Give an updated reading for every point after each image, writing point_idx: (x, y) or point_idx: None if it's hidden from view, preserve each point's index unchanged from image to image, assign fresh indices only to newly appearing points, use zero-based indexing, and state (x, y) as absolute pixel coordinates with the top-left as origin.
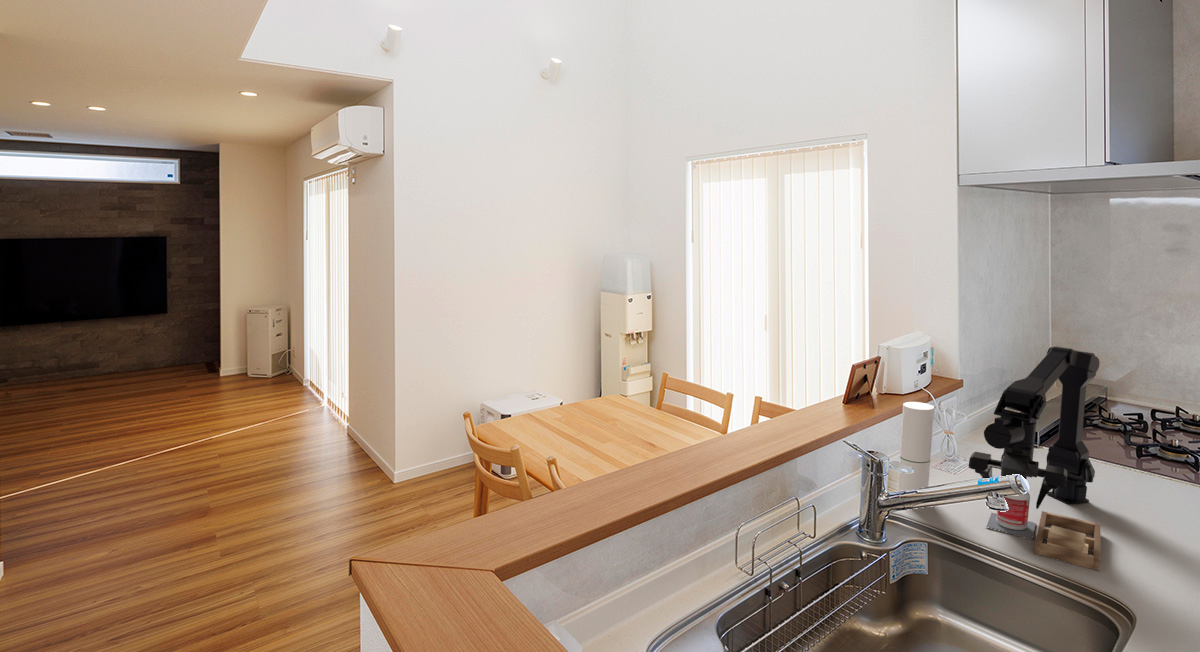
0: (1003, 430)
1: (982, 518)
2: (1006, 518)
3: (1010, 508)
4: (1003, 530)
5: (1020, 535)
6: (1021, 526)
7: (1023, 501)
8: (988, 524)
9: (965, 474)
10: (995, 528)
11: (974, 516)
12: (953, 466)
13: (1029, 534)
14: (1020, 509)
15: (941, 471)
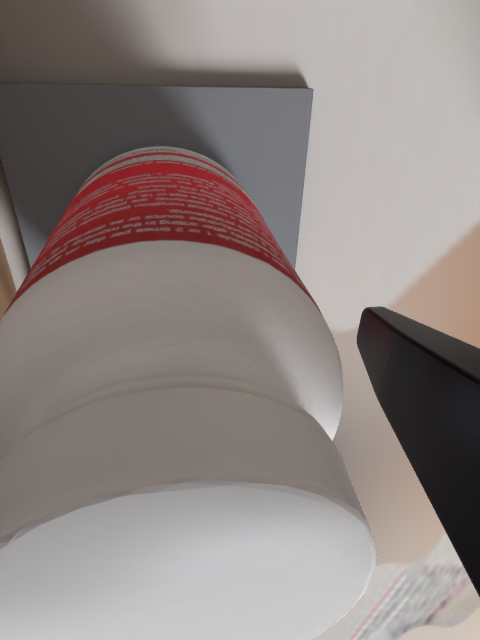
0: None
1: (330, 247)
2: (194, 166)
3: (172, 192)
4: (196, 98)
5: (71, 85)
6: (83, 183)
7: (22, 286)
8: (299, 144)
9: (377, 585)
10: (251, 95)
11: (372, 246)
12: (409, 605)
13: (23, 148)
14: (72, 224)
15: (454, 562)
